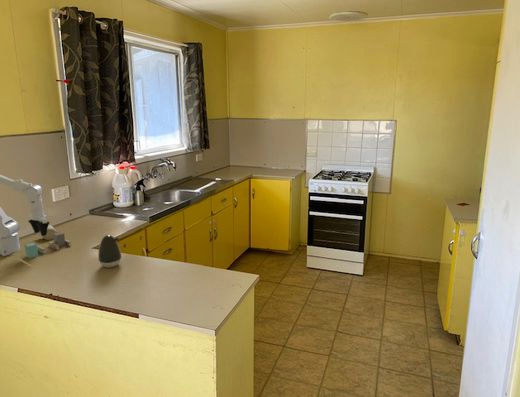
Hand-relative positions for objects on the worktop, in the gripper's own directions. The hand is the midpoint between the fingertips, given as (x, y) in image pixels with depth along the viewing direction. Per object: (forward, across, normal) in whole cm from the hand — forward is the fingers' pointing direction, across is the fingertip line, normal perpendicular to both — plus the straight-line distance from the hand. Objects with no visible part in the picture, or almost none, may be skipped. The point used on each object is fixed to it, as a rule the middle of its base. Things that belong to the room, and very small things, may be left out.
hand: (40, 233), depth 201 cm
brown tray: (+10, -2, -5) cm, 11 cm away
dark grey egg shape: (+10, -45, -11) cm, 47 cm away
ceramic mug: (+10, +17, -12) cm, 23 cm away
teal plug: (+10, -5, +7) cm, 13 cm away
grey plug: (+9, -2, -8) cm, 12 cm away
